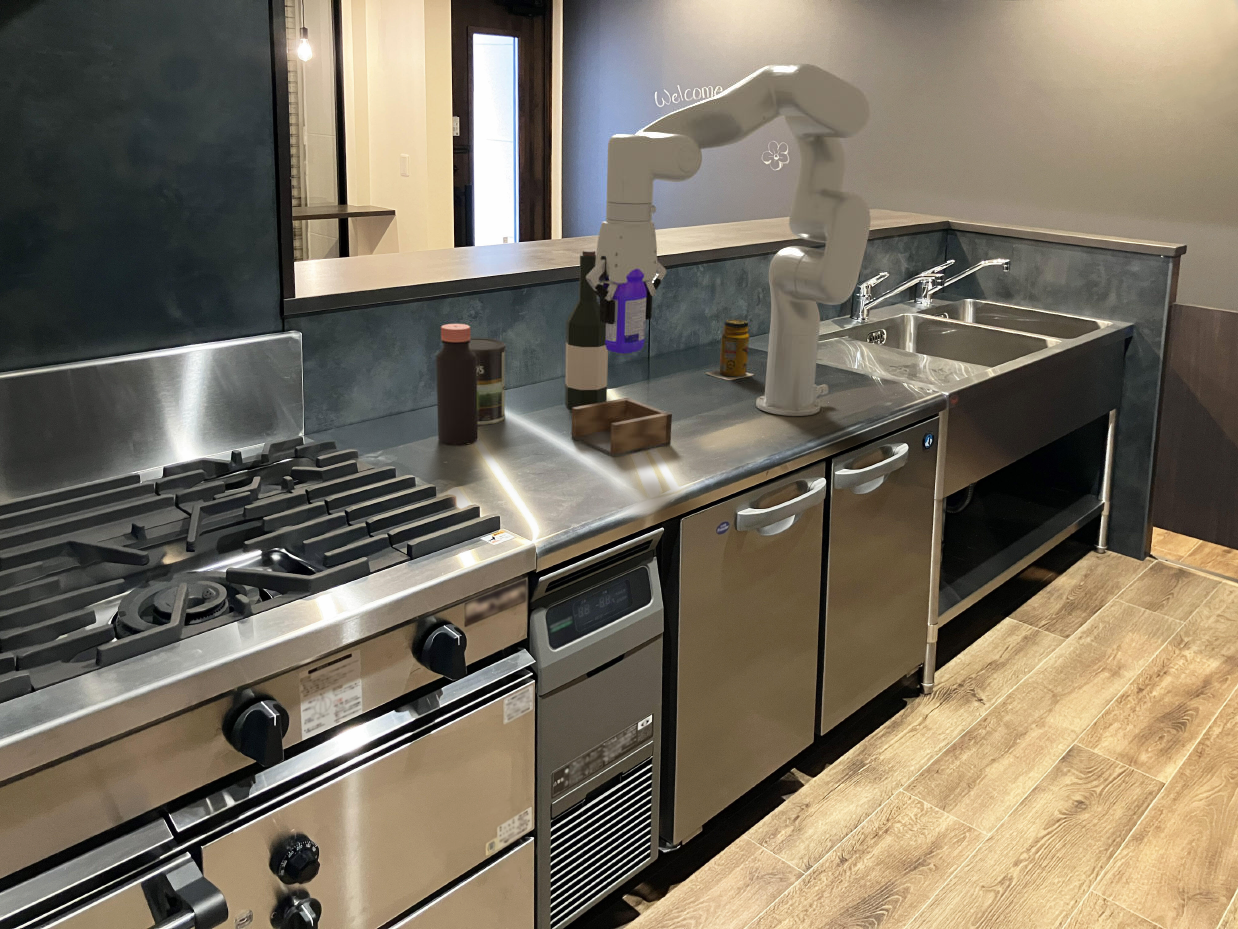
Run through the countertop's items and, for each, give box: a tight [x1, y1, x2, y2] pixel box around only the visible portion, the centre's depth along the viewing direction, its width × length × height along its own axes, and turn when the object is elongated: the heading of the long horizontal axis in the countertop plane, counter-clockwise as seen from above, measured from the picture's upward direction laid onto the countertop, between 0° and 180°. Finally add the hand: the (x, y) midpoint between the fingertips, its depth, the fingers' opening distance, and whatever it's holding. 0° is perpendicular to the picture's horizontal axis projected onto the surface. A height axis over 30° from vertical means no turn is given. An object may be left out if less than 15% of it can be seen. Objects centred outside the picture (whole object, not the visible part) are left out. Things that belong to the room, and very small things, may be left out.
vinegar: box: [435, 323, 479, 446], centre depth 178 cm, size 7×7×20 cm
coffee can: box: [469, 337, 506, 426], centre depth 192 cm, size 10×10×14 cm
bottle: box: [605, 269, 647, 355], centre depth 175 cm, size 7×6×17 cm
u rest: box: [571, 397, 673, 458], centre depth 182 cm, size 12×12×6 cm
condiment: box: [705, 318, 755, 381], centre depth 229 cm, size 7×8×12 cm
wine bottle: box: [564, 249, 609, 410], centre depth 199 cm, size 8×8×30 cm
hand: (625, 319), depth 176 cm, fingers closed on bottle, 7 cm apart
